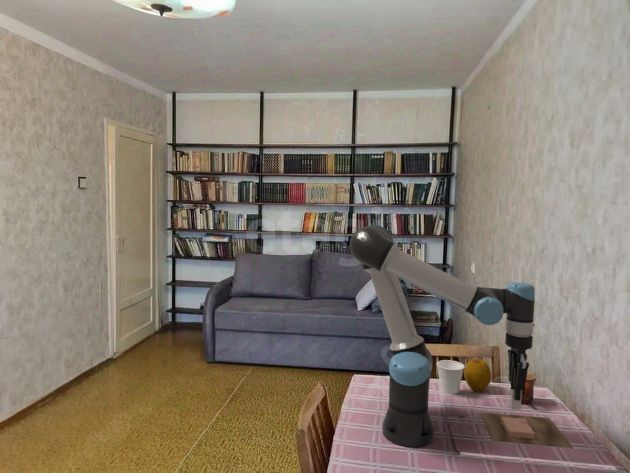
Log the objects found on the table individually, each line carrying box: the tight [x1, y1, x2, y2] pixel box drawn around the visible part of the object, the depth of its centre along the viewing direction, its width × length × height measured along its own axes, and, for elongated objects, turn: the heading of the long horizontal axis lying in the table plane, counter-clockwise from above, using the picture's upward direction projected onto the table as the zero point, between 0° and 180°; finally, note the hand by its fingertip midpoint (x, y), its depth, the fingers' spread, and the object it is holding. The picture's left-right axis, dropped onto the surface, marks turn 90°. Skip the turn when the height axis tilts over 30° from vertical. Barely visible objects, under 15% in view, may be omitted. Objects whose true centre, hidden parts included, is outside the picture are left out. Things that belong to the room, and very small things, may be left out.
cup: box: [436, 359, 466, 395], centre depth 161 cm, size 10×10×11 cm
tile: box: [501, 417, 535, 439], centre depth 133 cm, size 7×2×9 cm
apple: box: [463, 358, 492, 392], centre depth 166 cm, size 10×10×12 cm
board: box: [478, 411, 574, 449], centre depth 134 cm, size 22×18×1 cm
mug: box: [509, 371, 538, 405], centre depth 153 cm, size 12×9×10 cm
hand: (515, 408), depth 135 cm, fingers closed
